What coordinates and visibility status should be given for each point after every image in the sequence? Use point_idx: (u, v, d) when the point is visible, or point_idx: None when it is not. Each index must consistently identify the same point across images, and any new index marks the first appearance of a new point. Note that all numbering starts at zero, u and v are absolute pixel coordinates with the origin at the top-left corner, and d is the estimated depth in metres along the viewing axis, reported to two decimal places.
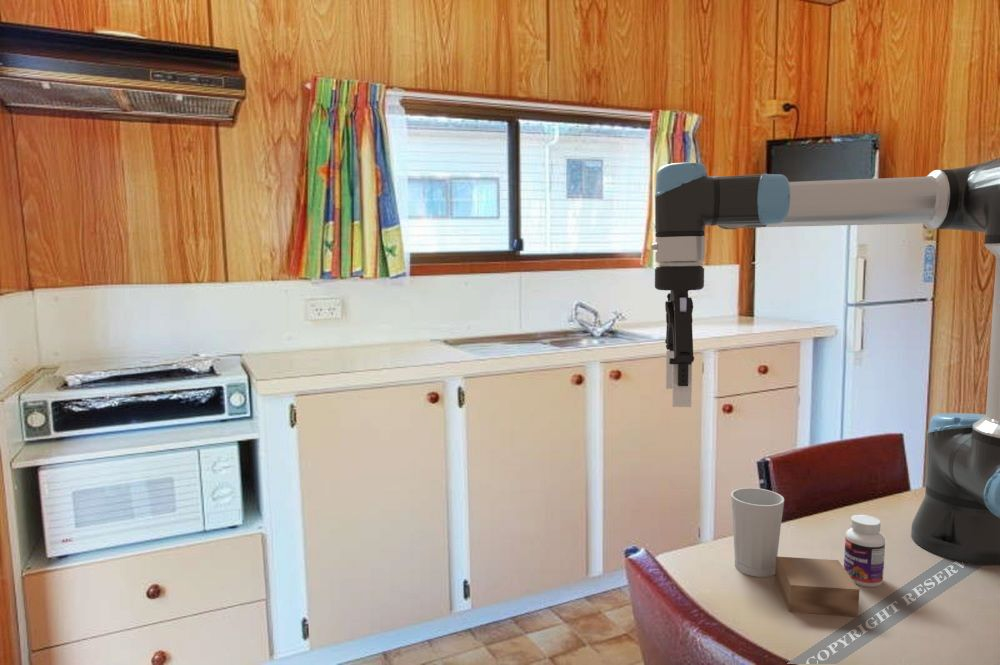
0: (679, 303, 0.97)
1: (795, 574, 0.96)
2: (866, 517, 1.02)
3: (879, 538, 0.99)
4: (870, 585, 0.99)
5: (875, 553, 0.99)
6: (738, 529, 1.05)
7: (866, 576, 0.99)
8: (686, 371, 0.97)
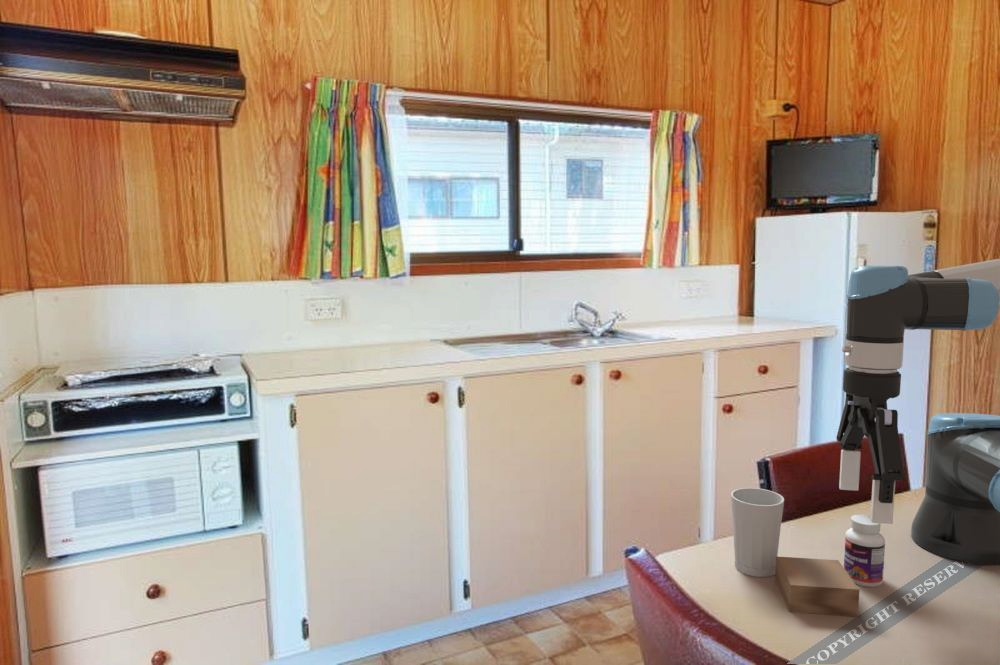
0: (884, 416, 0.92)
1: (795, 574, 0.96)
2: (866, 517, 1.02)
3: (879, 538, 0.99)
4: (870, 585, 0.99)
5: (875, 553, 0.99)
6: (738, 529, 1.05)
7: (866, 576, 0.99)
8: (891, 488, 0.92)
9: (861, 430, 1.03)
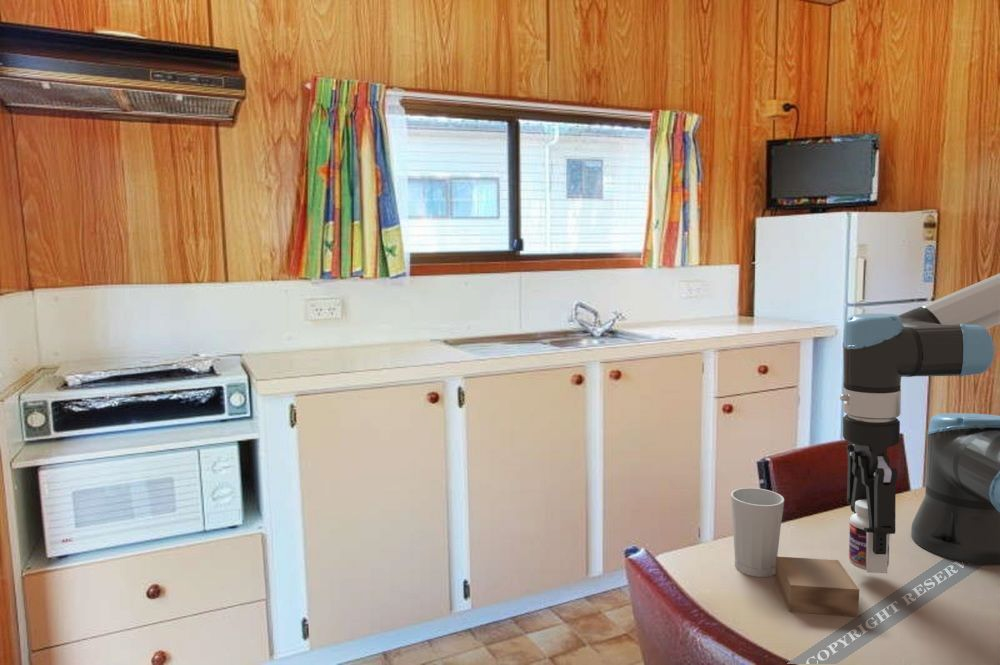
0: (883, 476, 0.94)
1: (795, 574, 0.96)
2: None
3: None
4: None
5: None
6: (738, 529, 1.05)
7: None
8: (884, 540, 0.96)
9: None
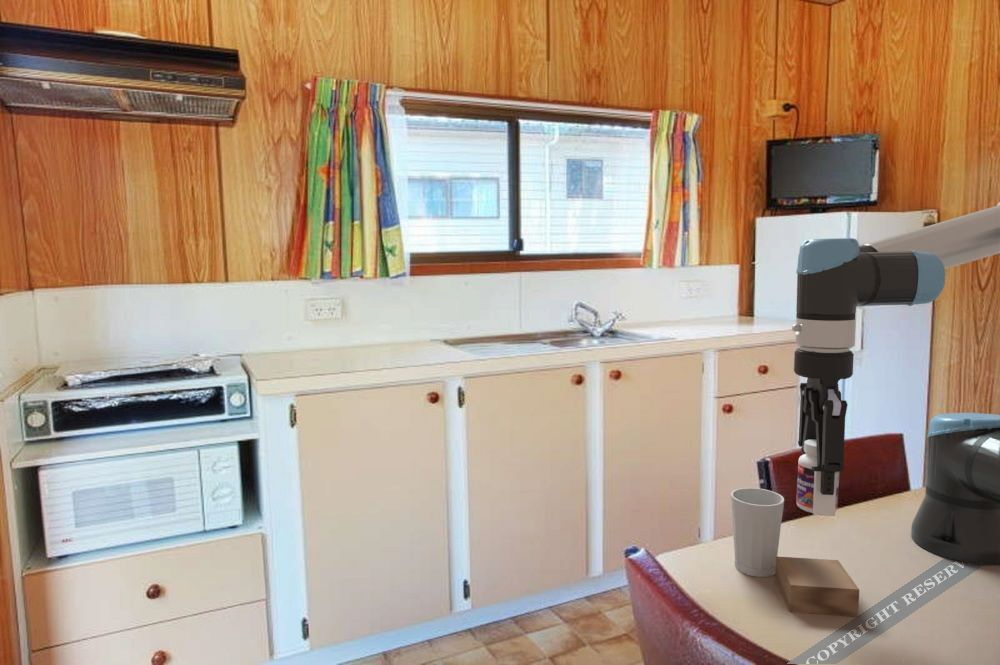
0: (832, 408, 0.87)
1: (795, 574, 0.96)
2: None
3: None
4: None
5: None
6: (738, 529, 1.05)
7: None
8: (832, 479, 0.90)
9: None
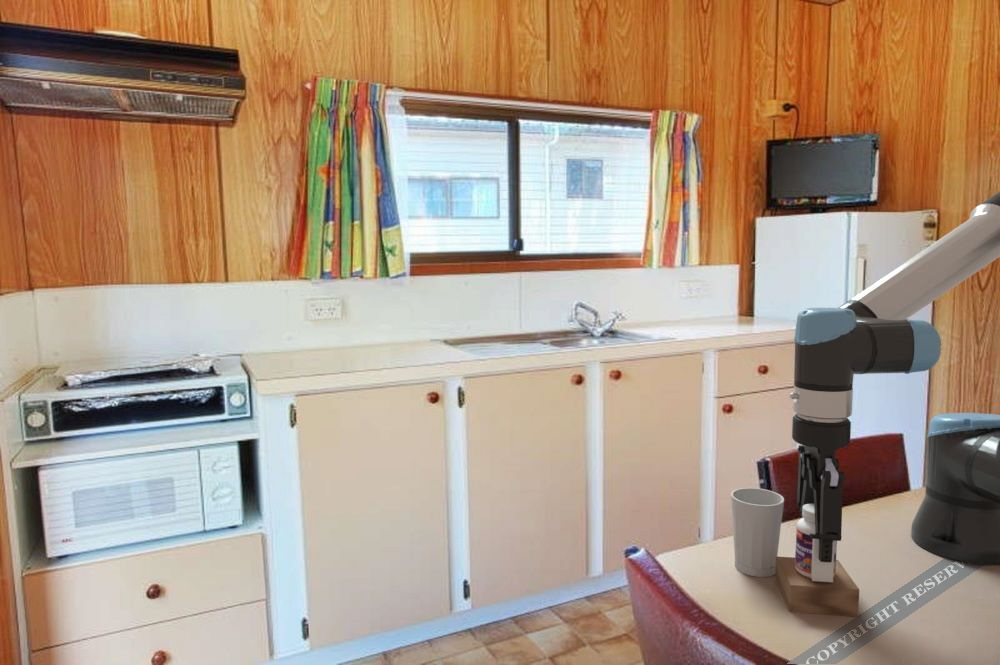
0: (830, 479, 0.88)
1: (795, 574, 0.96)
2: None
3: None
4: None
5: None
6: (738, 529, 1.05)
7: None
8: (830, 547, 0.91)
9: None
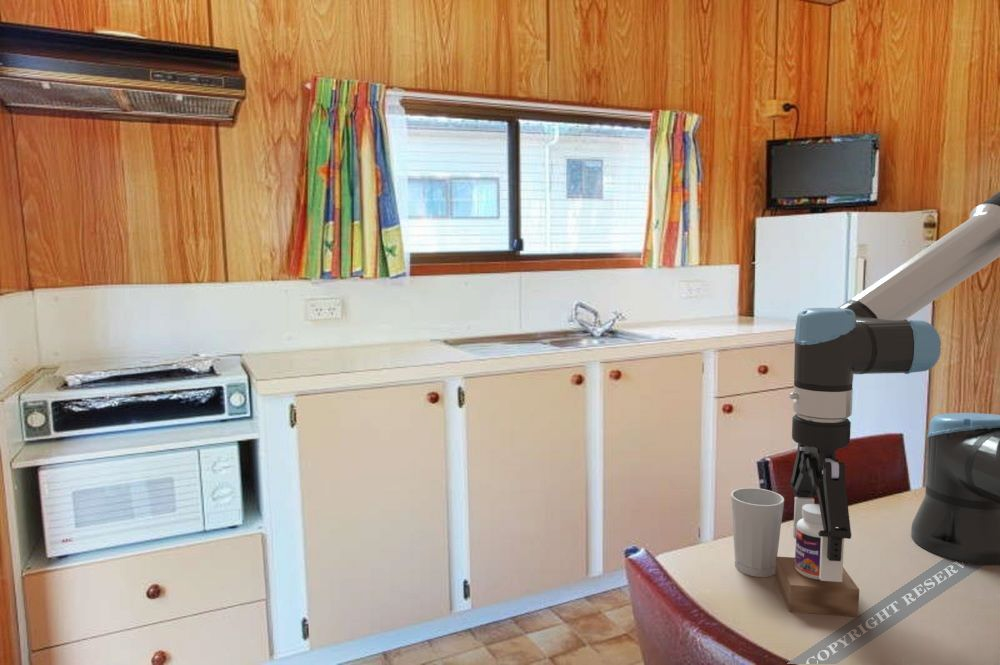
0: (831, 469, 0.88)
1: (795, 574, 0.96)
2: (818, 506, 0.96)
3: None
4: None
5: None
6: (738, 529, 1.05)
7: (817, 568, 0.94)
8: (839, 545, 0.87)
9: None
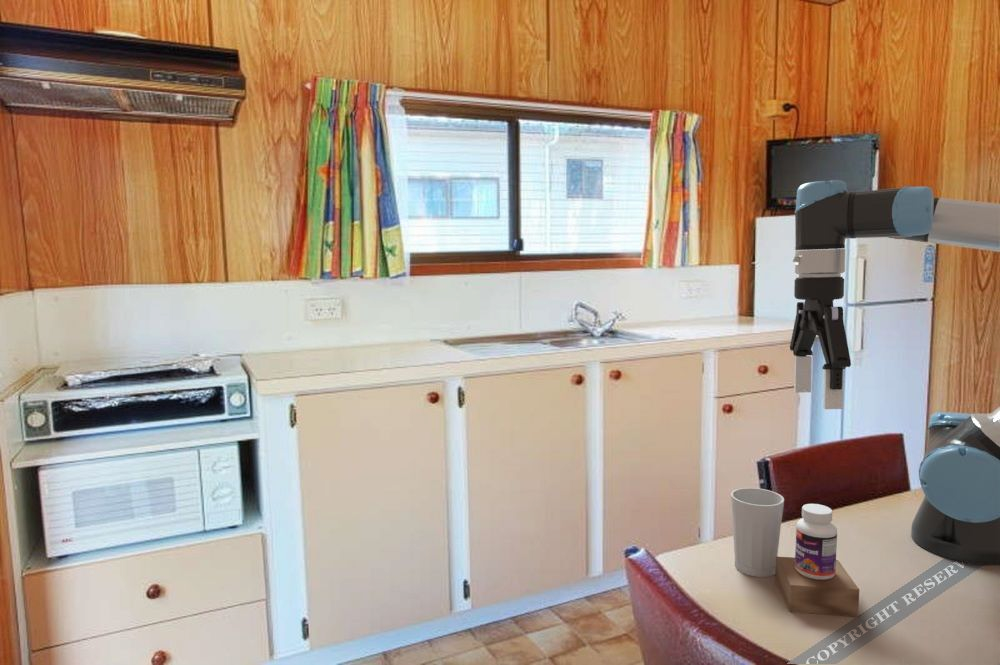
0: (831, 312, 1.04)
1: (795, 574, 0.96)
2: (818, 506, 0.96)
3: (830, 528, 0.93)
4: (821, 578, 0.94)
5: (826, 544, 0.93)
6: (738, 529, 1.05)
7: (817, 568, 0.94)
8: (840, 375, 1.03)
9: (811, 335, 1.15)
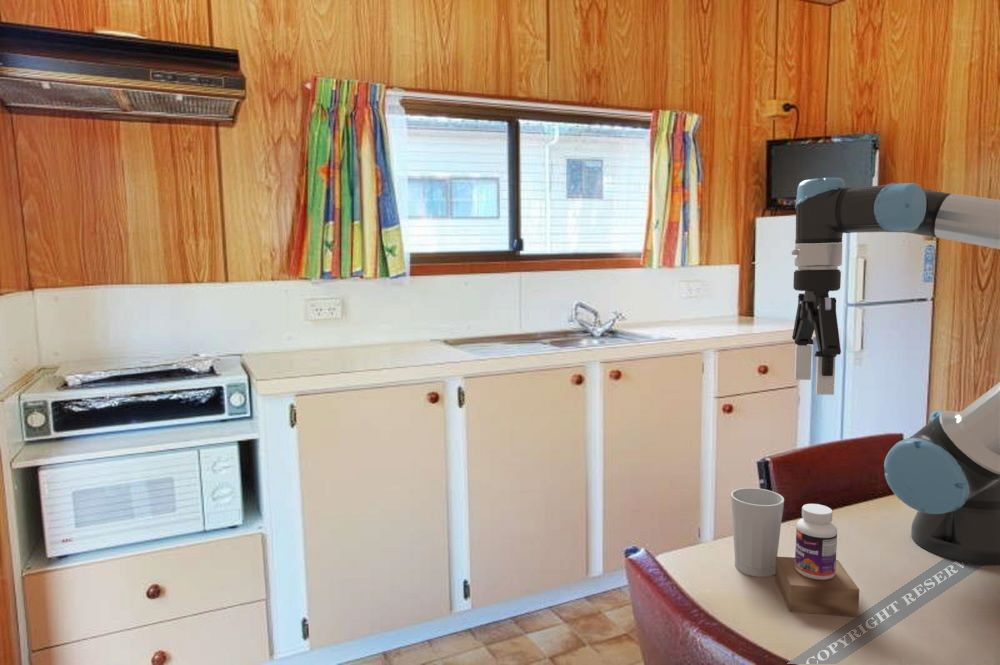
0: (824, 302, 1.10)
1: (795, 574, 0.96)
2: (818, 506, 0.96)
3: (830, 528, 0.93)
4: (821, 578, 0.94)
5: (826, 544, 0.93)
6: (738, 529, 1.05)
7: (817, 568, 0.94)
8: (831, 362, 1.09)
9: (811, 325, 1.21)
